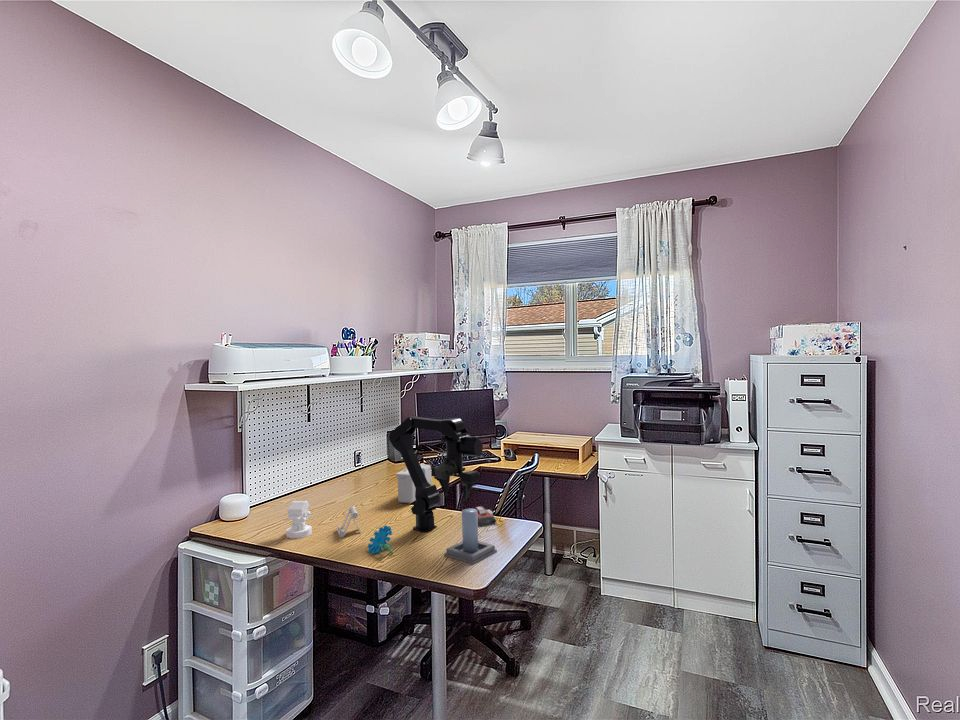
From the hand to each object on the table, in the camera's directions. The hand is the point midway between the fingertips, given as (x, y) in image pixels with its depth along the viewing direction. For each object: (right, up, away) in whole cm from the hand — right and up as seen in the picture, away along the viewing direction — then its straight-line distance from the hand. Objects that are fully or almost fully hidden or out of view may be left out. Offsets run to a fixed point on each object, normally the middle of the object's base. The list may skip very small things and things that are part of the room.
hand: (455, 498), depth 174 cm
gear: (-24, -14, -13) cm, 31 cm away
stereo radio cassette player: (-21, -14, +49) cm, 55 cm away
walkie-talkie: (+9, -13, +18) cm, 25 cm away
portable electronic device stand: (-39, -14, +5) cm, 42 cm away
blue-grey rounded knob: (+6, -12, -17) cm, 22 cm away
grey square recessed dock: (+6, -13, -17) cm, 22 cm away
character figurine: (-58, -15, +5) cm, 60 cm away
